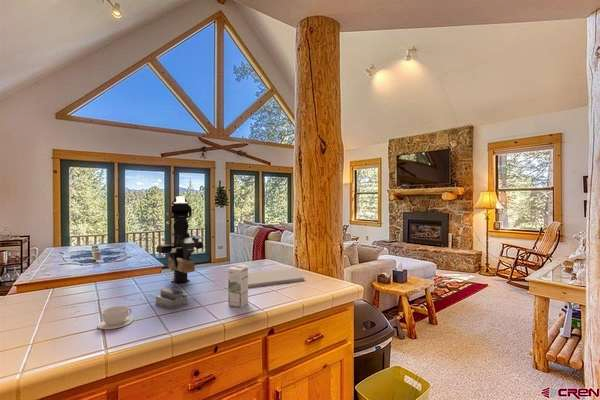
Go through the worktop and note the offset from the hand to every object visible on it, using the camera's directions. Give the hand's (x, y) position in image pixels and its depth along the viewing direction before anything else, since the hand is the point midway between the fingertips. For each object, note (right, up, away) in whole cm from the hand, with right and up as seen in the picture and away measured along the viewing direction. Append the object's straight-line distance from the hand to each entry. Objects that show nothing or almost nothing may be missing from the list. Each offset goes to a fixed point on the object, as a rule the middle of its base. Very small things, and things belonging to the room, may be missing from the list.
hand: (180, 266), depth 130 cm
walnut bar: (0, -1, 0) cm, 1 cm away
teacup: (-8, -12, -32) cm, 35 cm away
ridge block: (+2, -11, -14) cm, 18 cm away
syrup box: (+28, -12, -15) cm, 34 cm away
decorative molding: (+37, -12, +17) cm, 42 cm away
